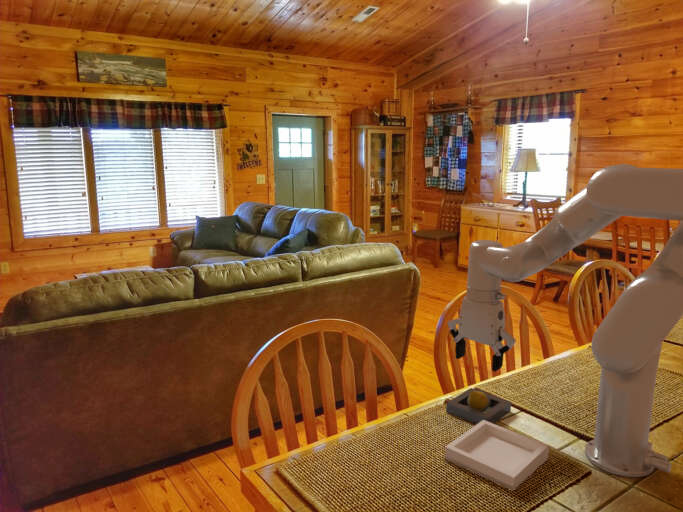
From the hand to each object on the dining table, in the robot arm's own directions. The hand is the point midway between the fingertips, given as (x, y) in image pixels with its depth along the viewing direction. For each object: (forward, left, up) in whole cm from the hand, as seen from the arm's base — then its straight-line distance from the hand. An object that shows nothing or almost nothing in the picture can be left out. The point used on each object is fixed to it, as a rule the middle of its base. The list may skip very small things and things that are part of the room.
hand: (477, 363), depth 127 cm
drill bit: (-1, 0, -13) cm, 13 cm away
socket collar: (-1, 0, -12) cm, 12 cm away
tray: (-14, +15, -12) cm, 24 cm away
